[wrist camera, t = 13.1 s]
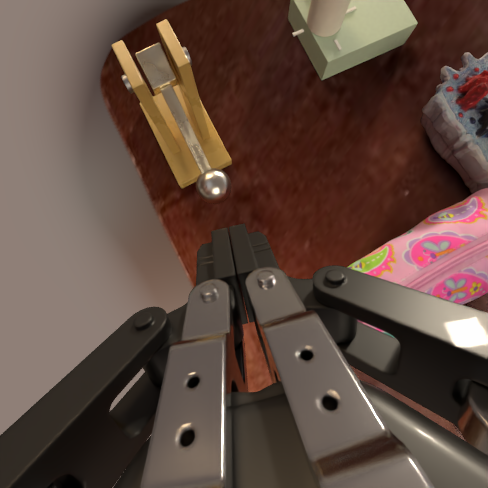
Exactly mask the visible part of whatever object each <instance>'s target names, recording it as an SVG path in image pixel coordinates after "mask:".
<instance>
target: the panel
mask: <svg viewBox="0 0 488 488" xmlns="http://www.w3.org/2000/svg"><path fill="white" fill-rule="evenodd" d="M310 3H311V0H291V1H290V8H289V15H288V20H289V22H290V24H291V25H292V27H293V29H294V31H295V32H294V33H292V35H293V37H294V36H296V35H297V36H298V38H299V40H300V42H301V44H302V46H303V47H304V49H305V51H306V53H307V55H308V57H309V58H310V60H311V62H312V64H313V66H314V68H315V70H316V71H317V73H318V75H319V77H320V79H321V80H324V79H326V78H328V77H331V76H333V75H335V74H337V73H340V72H342V71H344V70H346V69H349V68H351V67H353V66H356V65H358V64H360V63H362V62H365V61H367V60H369V59H371V58H374V57H376V56H378V55H381V54H383V53H385V52H387V51H390V50H392V49H394V48H396V47H399V46H401V45H403V44H404V43H405V42H406V40H407V39H408V37H409V36H410V34H411V33H412V31H413V30H414V28H415V26H416V25H417V21H416V19H415V18H414V16H413V15H412V13H411V11H410V10H409V8H408V6H407V5H406V3H405V2H404V0H351V1H350V3H349V6H348V9H347V12H346V14H345V17H344V20H343V23H342V25H341V28H340V29H339V31H338V32H337V33H335V34H334V35H332V36H328V37H321V36H318V35H315V34H314V33H313V32H311V30H310V29H309V27H308V25H307V17H308V12H309V8H310Z"/></svg>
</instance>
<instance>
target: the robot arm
mask: <svg viewBox="0 0 488 488" xmlns="http://www.w3.org/2000/svg"><path fill="white" fill-rule="evenodd" d="M229 231H230V235H229ZM229 231H228V228H223V229H219V230H215V231H211V233H212V242H211V243H207V244H202V246H201V247H200V249H199V250H198V252H197V277H196V286H195V287H194V288H193V289H192V291H191V292H190V294H189V298H188V303H186V304H185V305H184V306H182V307H180V308H178V309H176V310H174V311H172V312H170V313H168V314H167V313H166V312H165V310H163V309H162V308H159V307H149V308H146V309H143V310H140V311H139V312H137V313H135V314H134V315H133V316H131V317H130V318H129V319H128V320H127V321H126V322H125V323H124V324H122V325H121V326H120V327H119V328H118V329H117V330H116V331H115V332H114V333H113V334H111V335H110V336H109V337H108V338H107V339H106V340H105V341H104V342H103V343H102V344H100V345H99V346H98V347H97V348H96V349H95V350H94V351H93V352H92V353H91V354H89V355H88V356H87V357H86V358H85V359H84V360H83V361H82V362H81V363H80V364H79V365H78V366H76V367H75V368H74V369H73V370H72V371H71V372H70V373H69V374H67V375H66V376H65V377H64V378H63V379H62V380H61V381H60V382H59V383H58V384H56V386H54V387H53V388H52V389H51V390H50V391H49V392H48V393H47V394H45V395H44V396H43V397H42V398H41V399H40V400H39V401H38V402H37V403H36V404H34V405H33V406H32V407H31V408H30V409H29V410H28V411H27V412H26V413H25V414H24V415H22V416H21V417H20V418H19V419H18V420H17V421H16V422H15V423H14V424H13V425H11V426H10V427H9V428H8V429H7V430H6V431H5V432H4V433H3V434H2V435H0V488H112V487H113V486H114V485H115V486H114V487H113V488H488V313H486V312H483V311H480V310H477V309H474V308H471V307H468V306H464V305H461V304H458V303H455V302H452V301H449V300H446V299H443V298H440V297H437V296H433V295H430V294H427V293H424V292H421V291H418V290H415V289H412V288H409V287H406V286H402V285H399V284H396V283H393V282H390V281H387V280H384V279H381V278H378V277H375V276H372V275H368V274H365V273H362V272H359V271H356V270H353V269H350V268H347V267H343V266H326V267H323V268H321V269H319V270H317V271H316V272H315V273H314V275H313V278H312V279H295V278H291V277H288V276H286V274H285V273H284V271H282V270H281V269H279V266H278V264H277V262H276V259H275V257H274V254H273V252H272V250H271V247H270V245H269V243H268V240H267V238H266V236H265V235H263V234H262V233H260V232H259V231H258V232H254V233H250V234H248V233H247V230H246V227H245V224H240V225H236V226H232V227H229ZM230 237H231V240H230ZM231 242H232V244H231ZM232 247H233V248H232ZM242 294H243V295H242ZM243 298H244V300H243ZM244 302H245V305H244ZM245 306H246V310H247V314H248V318H249V322H255V326H256V330H257V334H258V338H259V342H260V345H261V348H262V351H263V354H264V357H265V361H266V364H267V367H268V370H269V373H270V376H271V379H272V382H273V384H272V385H270V386H268V387H266V388H264V389H262V390H261V391H258V392H248V383H247V369H246V355H245V343H244V338H243V336H244V332H243V326H242V324H246V323H248V321H247V315H246V310H245ZM358 320H360V321H362V322H364V323H367V324H369V325H371V326H373V327H376V328H378V329H380V330H382V331H385V332H387V333H389V334H391V335H392V336H394V337H395V338H394V337H391V336H389V335H387V334H385V333H382V332H380V331H378V330H376V329H373V328H371V327H369V326H367V325H365V324H362V323H360V322H358ZM349 364H350V365H351V366H353V367H355V368H357V369H358V370H360V371H362V372H364V373H365V374H367V375H369V376H371V377H372V378H374V379H376V380H378V381H380V382H381V383H383V384H385V385H387V386H388V387H390V388H392V389H394V390H395V391H397V392H399V393H401V394H402V395H404V396H406V397H408V398H409V399H411V400H413V401H415V402H416V403H418V404H420V405H422V406H423V407H425V408H427V409H429V410H431V411H432V412H434V413H436V414H438V415H439V416H441V417H443V418H445V419H446V420H448V421H450V422H452V423H453V424H455V425H457V426H459V429H460V431H461V433H462V435H463V437H464V438H465V440H466V441H467V442H466V441H464V440H463V439H461V438H459V437H458V436H456V435H454V434H453V433H451V432H450V431H448V430H446V429H445V428H443V427H442V426H440V425H438V424H437V423H435V422H434V421H432V420H430V419H429V418H427V417H425V416H424V415H422V414H421V413H419V412H417V411H416V410H414V409H413V408H411V407H409V406H408V405H406V404H404V403H403V402H401V401H400V400H398V399H396V398H395V397H393V396H392V395H390V394H388V393H387V392H385V391H383V390H382V389H380V388H378V387H376V386H374V385H371V384H369V383H366V382H364V381H361V380H358V378H357V376H356V375H355V373H354V372H353V370H352V368H351V367H350V365H349ZM142 368H143V369H144V370H145V373H144V374H143V375H142V376H141V377H140V378H139V380H138V381H137V382H136V383H135V384H134V385H133V387H132V388H131V389H130V390H129V391H128V392H127V393H126V395H125V396H124V397H123V398H122V399H121V400H120V401H119V403H118V404H117V405H116V406H115V407H114V408H113V409H112V410H111V411H110V406H111V404H112V402H113V401H114V399H115V398H116V397H117V395H118V394H119V393H120V392H121V391H122V390H123V389H124V388H125V387H126V385H127V384H128V383H129V382H130V381H131V380H132V379H133V377H134V376H135V375H136V374H137V373H138V372H139V371H140V369H142ZM109 411H110V412H109ZM151 433H152V434H151ZM150 435H151V436H150ZM149 436H150V437H149ZM148 438H149V439H148ZM147 439H148V440H147ZM146 440H147V441H146ZM125 469H126V470H125ZM123 472H124V473H123ZM120 476H121V477H120ZM118 479H119V480H118ZM117 480H118V481H117ZM116 482H117V483H116ZM115 483H116V484H115Z"/></svg>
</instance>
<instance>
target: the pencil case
mask: <svg viewBox="0 0 488 488" xmlns="http://www.w3.org/2000/svg"><path fill="white" fill-rule="evenodd" d="M347 268H350V269H353V270H356V271H359V272H362V273H365V274H368V275H372V276H375V277H378V278H381V279H384V280H387V281H390V282H393V283H396V284H399V285H402V286H406V287H409V288H412V289H415V290H418V291H421V292H424V293H427V294H430V295H433V296H437V297H440V298H443V299H446V300H449V301H452V302H455V303H458V304H461V305H463V304H465V303H468V302H470V301H472V300H474V299H476V298H479V297H481V296H482V295H484V294H486V293H488V188H485V189H481V190H479V191H477V192H475V193H473V194H472V195H470V196H469V197H467V198H466V199H465V200H464V201H462V202H458V203H456V204H454V205H452V206H450V207H447V208H445V209H443V210H440V211H438V212H436V213H434V214H432V215H430V216H429V217H427V218H426V219H425V220H423V221H422V222H421V223H419V224H418V225H416V226H415V227H413V228H412V229H411V230H409V231H407V232H405V233H404V234H402V235H400V236H398V237H397V238H395V239H393V240H390V241H389V242H387V243H385V244H384V245H382V246H381V247H379V248H378V249H376V250H374V251H373V252H371V253H370V254H368V255H366V256H365V257H363V258H361V259H360V260H358V261H356V262H354V263H352V264H351V265H349V266H348V267H347ZM358 322H360V323H362V324H365V325H367V326H369V327H371V328H373V329H376V330H378V331H380V332H382V333H385V334H387V335H389V336H391V337H394V336H392V335H391V334H389V333H387V332H385V331H382V330H380V329H378V328H376V327H373V326H371V325H369V324H367V323H364V322H362V321H360V320H358ZM394 338H395V337H394Z"/></svg>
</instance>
